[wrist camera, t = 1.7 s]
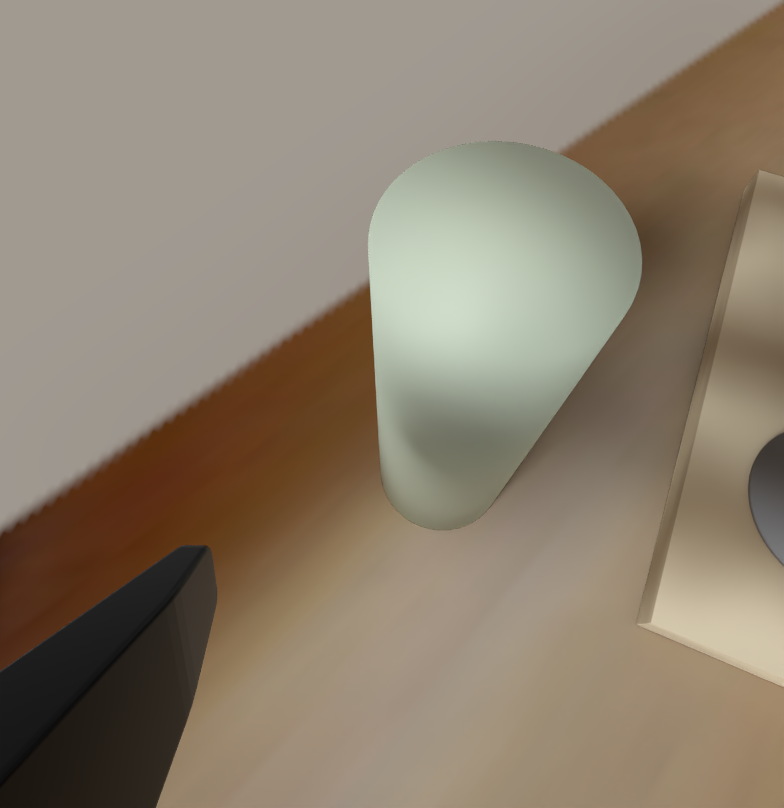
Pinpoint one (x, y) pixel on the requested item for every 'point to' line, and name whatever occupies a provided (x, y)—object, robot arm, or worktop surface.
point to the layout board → (732, 465)
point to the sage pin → (487, 315)
